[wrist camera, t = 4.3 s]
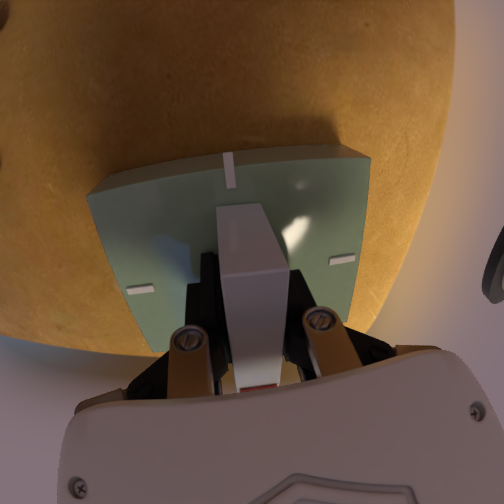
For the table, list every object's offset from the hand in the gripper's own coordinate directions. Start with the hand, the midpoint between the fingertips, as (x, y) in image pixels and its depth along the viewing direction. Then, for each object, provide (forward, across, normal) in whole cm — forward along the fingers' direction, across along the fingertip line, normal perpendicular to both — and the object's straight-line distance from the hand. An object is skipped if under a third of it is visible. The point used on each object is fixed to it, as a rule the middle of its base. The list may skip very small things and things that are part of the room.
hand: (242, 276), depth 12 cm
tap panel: (+3, 0, 0) cm, 3 cm away
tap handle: (0, 0, 0) cm, 0 cm away
